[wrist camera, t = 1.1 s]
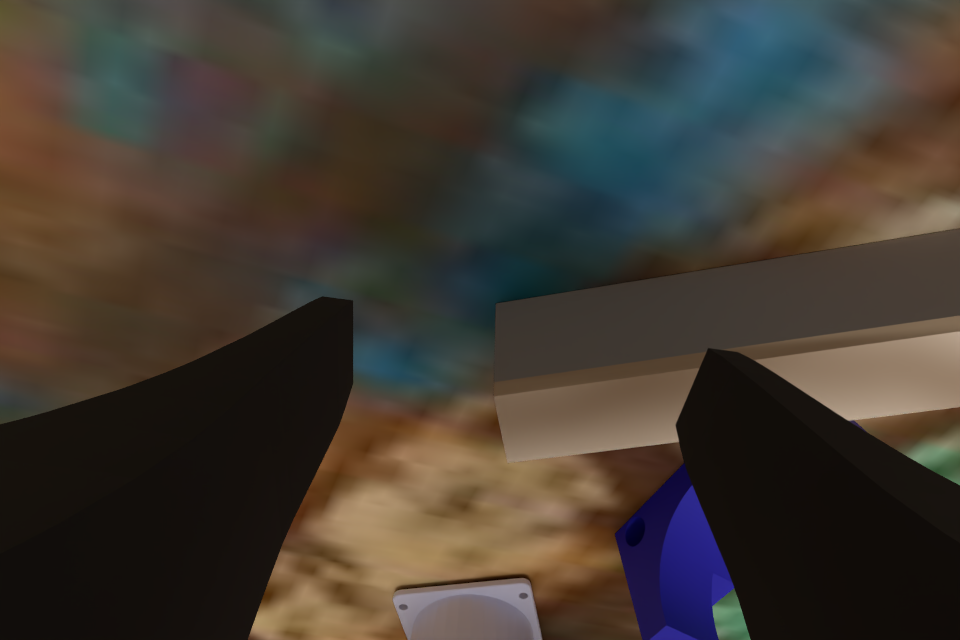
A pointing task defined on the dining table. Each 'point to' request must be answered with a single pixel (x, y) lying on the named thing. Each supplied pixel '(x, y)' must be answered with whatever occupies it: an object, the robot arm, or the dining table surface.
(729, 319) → the wall board
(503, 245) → the dining table surface
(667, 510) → the blue half-round bracket
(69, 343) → the dining table surface
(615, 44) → the dining table surface
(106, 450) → the robot arm
